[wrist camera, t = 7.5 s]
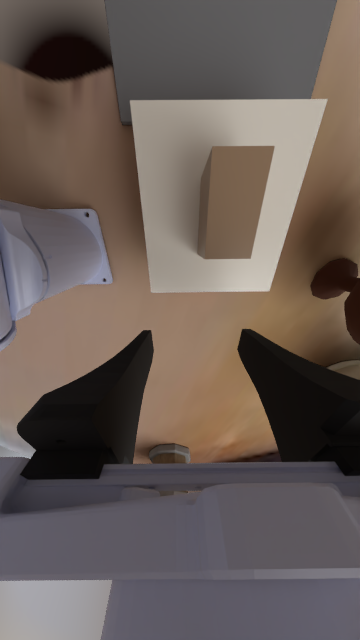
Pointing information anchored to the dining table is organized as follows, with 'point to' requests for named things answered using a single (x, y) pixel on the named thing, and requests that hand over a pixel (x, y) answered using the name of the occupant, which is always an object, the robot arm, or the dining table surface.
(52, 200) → the dining table surface
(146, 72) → the mat
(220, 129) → the lid
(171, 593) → the robot arm
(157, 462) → the tankard
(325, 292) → the ice cream bowl
